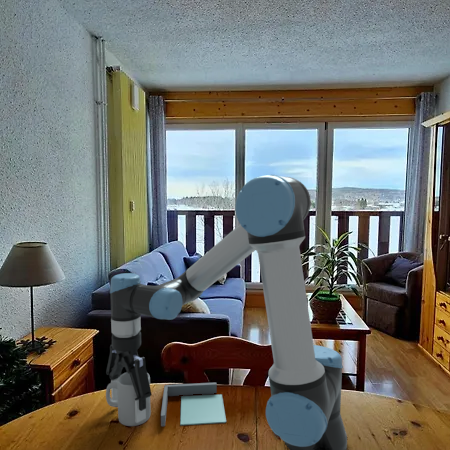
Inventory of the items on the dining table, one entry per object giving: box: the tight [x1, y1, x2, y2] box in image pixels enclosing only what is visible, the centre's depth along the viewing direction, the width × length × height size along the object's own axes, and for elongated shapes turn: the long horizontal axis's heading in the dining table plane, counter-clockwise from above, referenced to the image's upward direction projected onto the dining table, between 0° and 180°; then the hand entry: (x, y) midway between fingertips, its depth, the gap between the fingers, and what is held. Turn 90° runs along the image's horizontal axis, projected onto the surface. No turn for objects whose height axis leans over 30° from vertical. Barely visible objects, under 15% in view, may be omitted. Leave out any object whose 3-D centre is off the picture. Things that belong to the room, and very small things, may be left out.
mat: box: [180, 393, 227, 426], centre depth 103 cm, size 12×13×1 cm
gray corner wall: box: [160, 382, 218, 427], centre depth 104 cm, size 16×15×3 cm
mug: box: [105, 371, 152, 427], centre depth 100 cm, size 12×8×11 cm
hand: (128, 410), depth 100 cm, fingers open, 11 cm apart
